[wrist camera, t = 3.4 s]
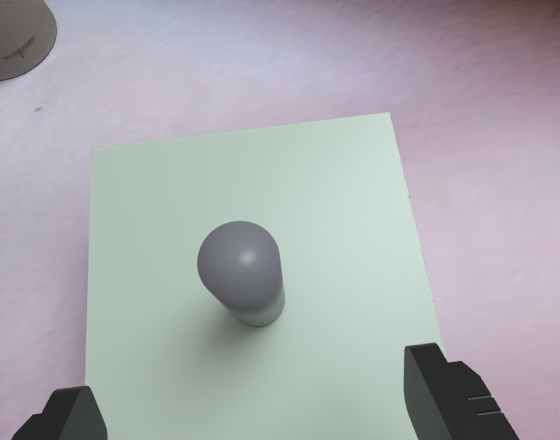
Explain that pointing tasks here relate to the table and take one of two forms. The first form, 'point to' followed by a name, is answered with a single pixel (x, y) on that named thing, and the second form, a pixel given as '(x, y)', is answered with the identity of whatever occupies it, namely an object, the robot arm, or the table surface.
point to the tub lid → (255, 285)
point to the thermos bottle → (24, 35)
